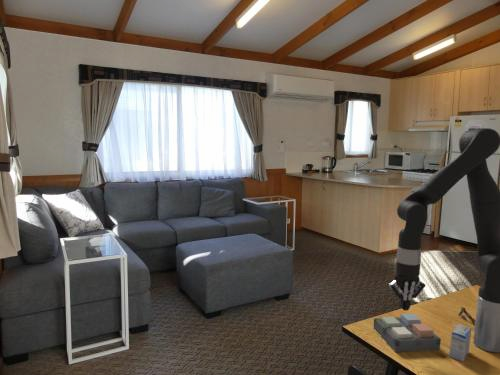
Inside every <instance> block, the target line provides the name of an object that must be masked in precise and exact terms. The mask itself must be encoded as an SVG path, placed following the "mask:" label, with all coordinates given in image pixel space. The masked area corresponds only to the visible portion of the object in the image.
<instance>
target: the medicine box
mask: <svg viewBox="0 0 500 375" xmlns="http://www.w3.org/2000/svg"><path fill="white" fill-rule="evenodd" d="M450 336H451V338H450V346H449V355H448V356H449V358H453V359H454V360H455V359H456V360H459V361H461V362H464V361H465V359H466V357H467V356H468V353H469V352H470V344H471V337H472V327H469V326H467V325H462V324H460V323H459V324H458V323H456V326H455V327H454V329H453V331H452V332H451V335H450Z"/></svg>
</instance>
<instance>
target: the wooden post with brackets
mask: <svg viewBox="0 0 500 375" xmlns="http://www.w3.org/2000/svg"><path fill="white" fill-rule="evenodd" d="M463 314H465V315H463ZM457 316H458V317H461V319H462V320H465V321H467V318H468V319H469V320H470V321H471V322H472V326H475V321H476V318H474V317H472V315H471V314H470V313H469V312H468V311H467V310H466V308H465V307H463V306H460V312H459V313H458V314H457Z"/></svg>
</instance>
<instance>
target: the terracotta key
mask: <svg viewBox="0 0 500 375" xmlns="http://www.w3.org/2000/svg"><path fill="white" fill-rule="evenodd" d="M412 331H413V332H414V333H415V334H416V335H417V336H418V337H419V338H420V337H433V333H434V330H433V329H432V328H431V327H430V326H429V325H428V324H426V323H422V324H412Z"/></svg>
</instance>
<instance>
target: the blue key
mask: <svg viewBox="0 0 500 375" xmlns="http://www.w3.org/2000/svg"><path fill="white" fill-rule="evenodd" d="M400 317H401V321H402V322H403V323H404V324H405V325H406V326H407V327H409V326H412V324H420V322H421V318H419V317H418V316H417V315H415V314H414V313H401V314H400Z"/></svg>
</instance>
